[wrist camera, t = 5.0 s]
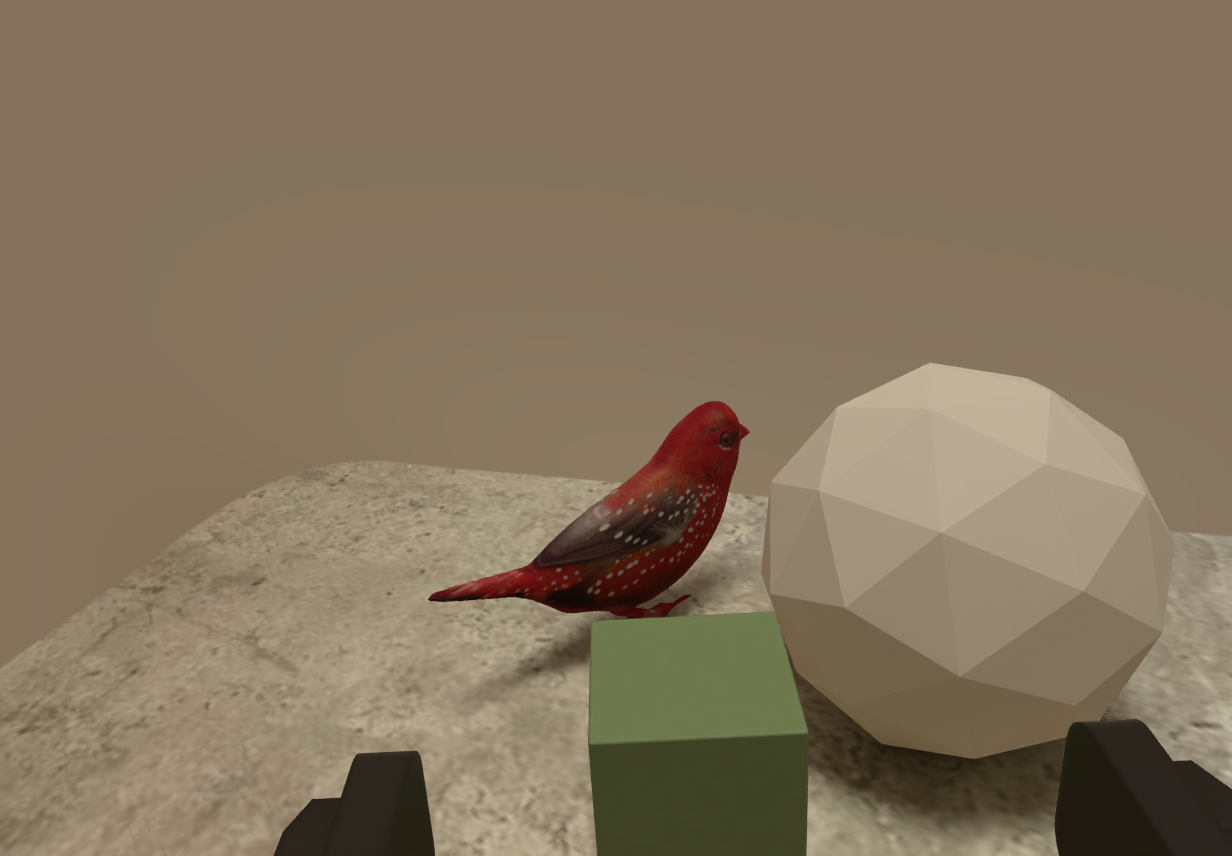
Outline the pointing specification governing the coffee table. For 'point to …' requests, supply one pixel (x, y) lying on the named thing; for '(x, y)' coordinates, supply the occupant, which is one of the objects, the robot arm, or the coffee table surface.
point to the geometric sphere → (965, 562)
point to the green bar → (696, 738)
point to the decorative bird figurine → (633, 529)
